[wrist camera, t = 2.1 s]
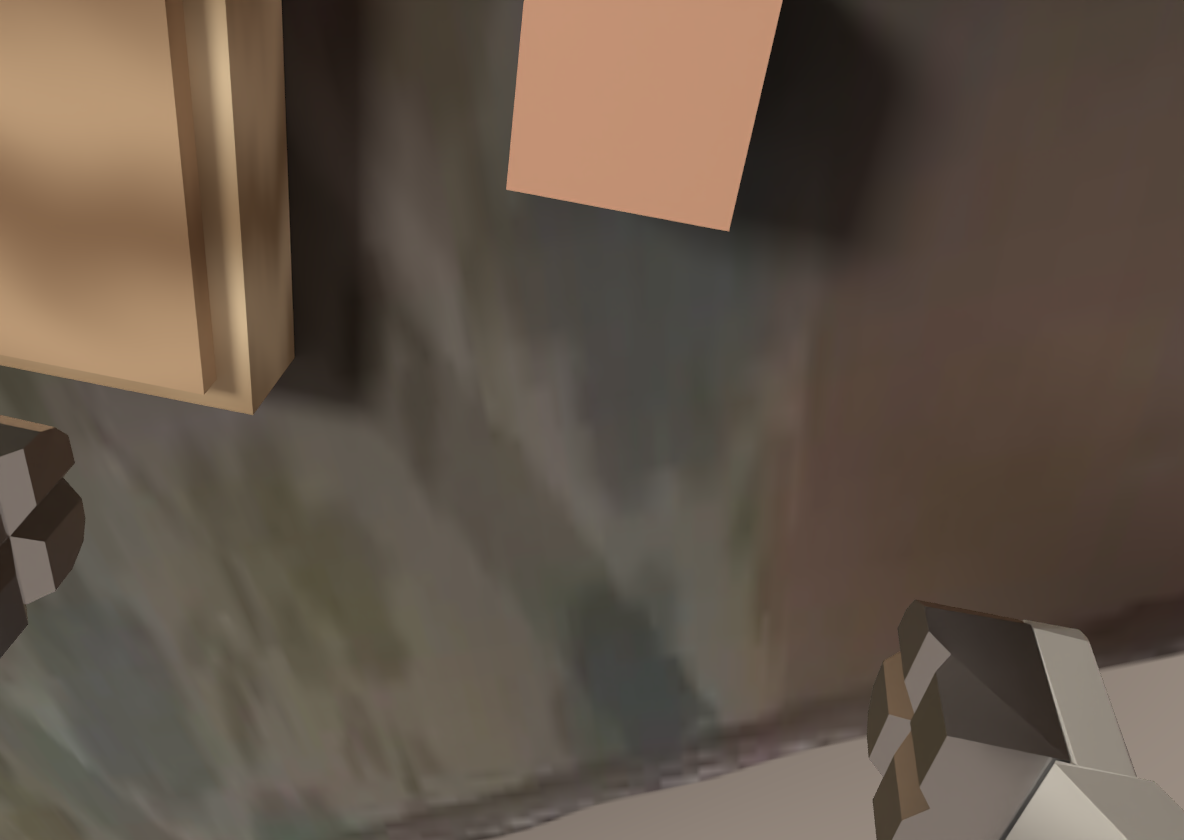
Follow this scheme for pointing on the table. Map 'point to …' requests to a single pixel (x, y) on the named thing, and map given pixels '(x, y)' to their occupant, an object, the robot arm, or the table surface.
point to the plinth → (146, 196)
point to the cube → (640, 103)
